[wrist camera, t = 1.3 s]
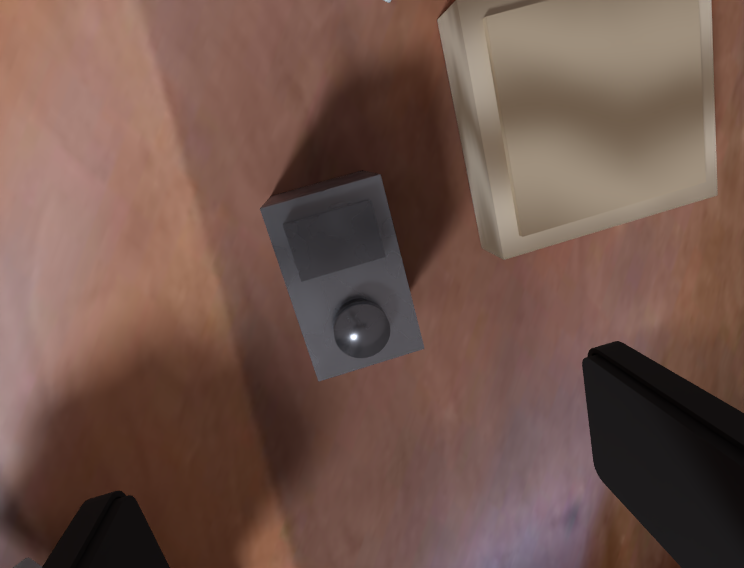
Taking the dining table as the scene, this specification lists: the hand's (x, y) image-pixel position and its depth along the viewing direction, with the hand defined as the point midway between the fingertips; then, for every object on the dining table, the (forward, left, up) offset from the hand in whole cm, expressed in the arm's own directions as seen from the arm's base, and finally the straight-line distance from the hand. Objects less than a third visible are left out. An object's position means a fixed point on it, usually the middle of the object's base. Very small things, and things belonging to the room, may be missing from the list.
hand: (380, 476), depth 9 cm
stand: (-5, +15, -17) cm, 23 cm away
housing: (-1, +1, -17) cm, 17 cm away
